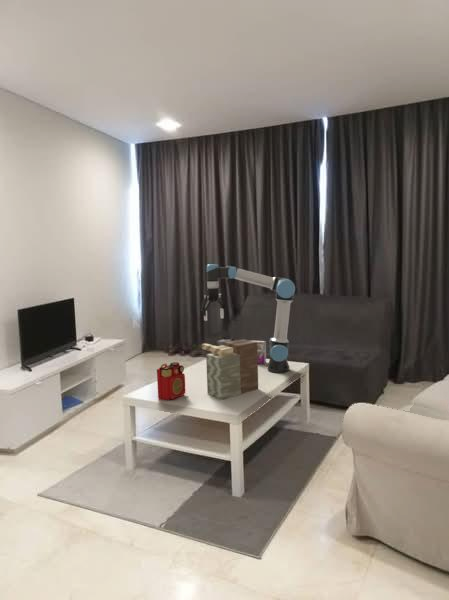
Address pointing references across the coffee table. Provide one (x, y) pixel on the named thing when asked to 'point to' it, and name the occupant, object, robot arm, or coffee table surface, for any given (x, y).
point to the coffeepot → (223, 341)
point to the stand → (233, 370)
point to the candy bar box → (261, 351)
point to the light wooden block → (218, 350)
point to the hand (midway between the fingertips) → (214, 319)
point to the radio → (170, 381)
